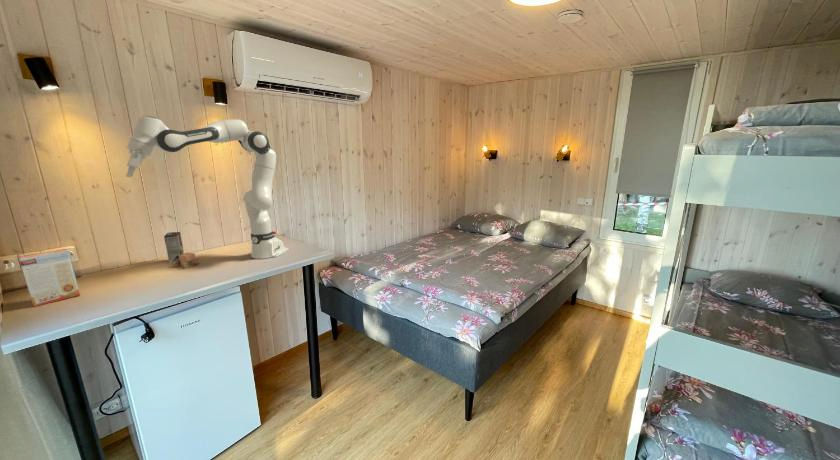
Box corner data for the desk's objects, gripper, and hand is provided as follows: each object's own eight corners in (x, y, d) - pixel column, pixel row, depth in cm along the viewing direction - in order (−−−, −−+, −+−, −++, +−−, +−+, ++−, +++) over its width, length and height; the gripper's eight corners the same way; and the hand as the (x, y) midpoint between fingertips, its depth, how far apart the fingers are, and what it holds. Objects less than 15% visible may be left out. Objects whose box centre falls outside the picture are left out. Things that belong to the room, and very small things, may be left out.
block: (189, 263, 191) (187, 252, 189) (196, 263, 189) (194, 253, 188) (181, 265, 186) (179, 255, 185) (187, 266, 184) (186, 256, 183)
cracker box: (78, 292, 154) (66, 247, 149) (80, 295, 150) (68, 250, 145) (32, 303, 143) (18, 255, 138) (33, 307, 139) (18, 258, 135)
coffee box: (172, 259, 199) (167, 232, 196) (185, 257, 202) (180, 231, 198) (168, 263, 191) (163, 236, 188) (182, 262, 194) (177, 234, 190)
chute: (187, 263, 192) (186, 257, 191) (200, 264, 189) (199, 258, 188) (161, 272, 178) (159, 266, 177) (173, 274, 175) (172, 267, 174)
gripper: (148, 151, 153) (136, 180, 152) (148, 152, 168) (137, 178, 167) (130, 144, 149) (118, 174, 148) (131, 146, 164) (121, 173, 163)
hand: (128, 176), depth 158 cm, fingers open, 8 cm apart
